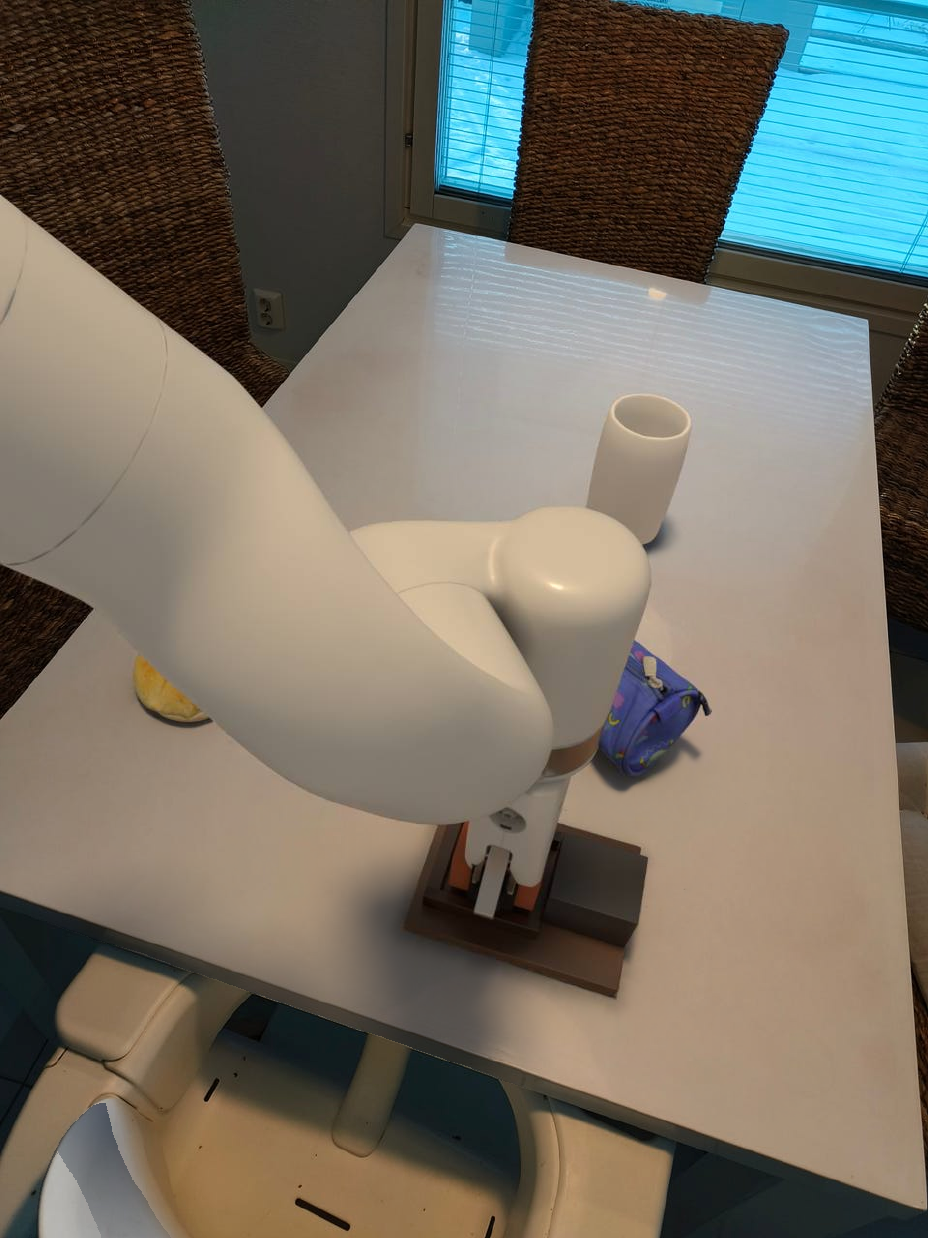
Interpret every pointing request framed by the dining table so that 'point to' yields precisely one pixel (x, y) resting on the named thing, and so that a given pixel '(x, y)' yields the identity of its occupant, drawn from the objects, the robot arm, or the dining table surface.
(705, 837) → the dining table surface
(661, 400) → the cup
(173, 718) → the bread roll
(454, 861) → the orange block
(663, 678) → the pencil case
